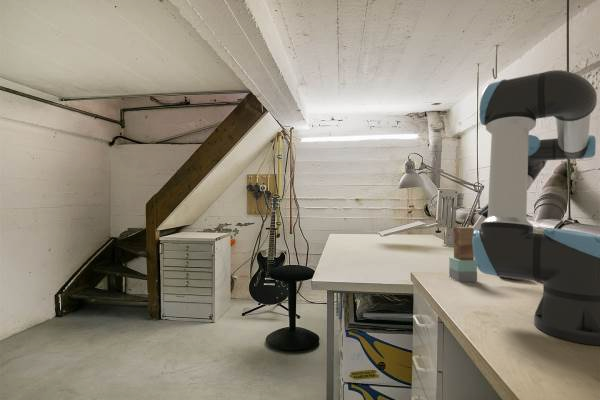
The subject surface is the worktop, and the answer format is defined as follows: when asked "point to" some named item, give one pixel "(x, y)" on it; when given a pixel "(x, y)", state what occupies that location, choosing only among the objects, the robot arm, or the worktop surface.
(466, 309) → the worktop surface
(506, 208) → the robot arm
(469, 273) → the tower base
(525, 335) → the worktop surface
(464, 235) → the walnut post
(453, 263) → the tower mid
